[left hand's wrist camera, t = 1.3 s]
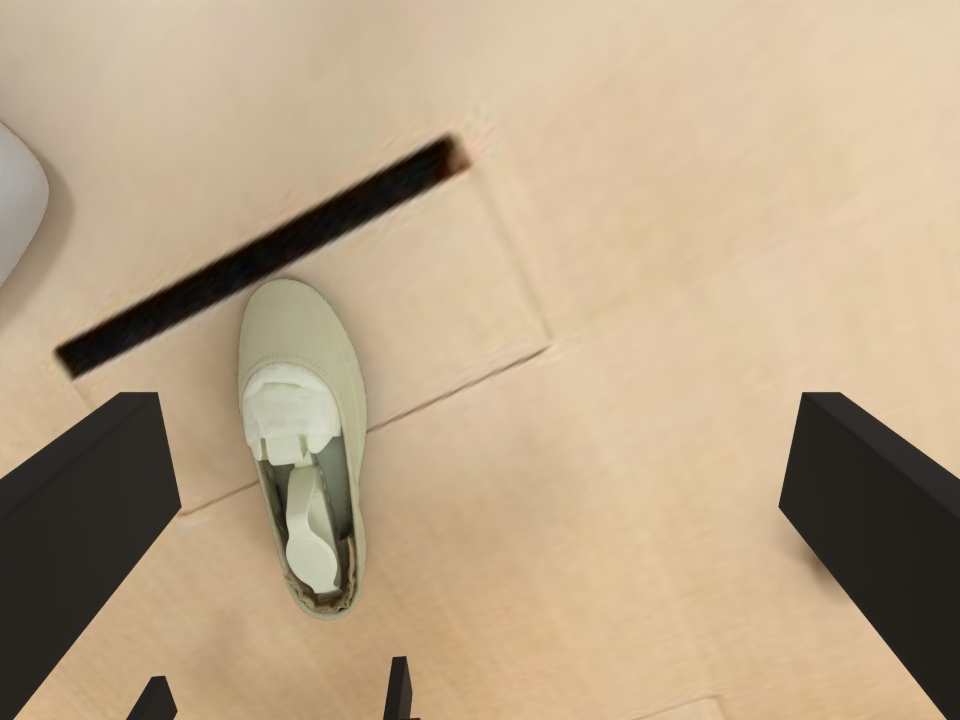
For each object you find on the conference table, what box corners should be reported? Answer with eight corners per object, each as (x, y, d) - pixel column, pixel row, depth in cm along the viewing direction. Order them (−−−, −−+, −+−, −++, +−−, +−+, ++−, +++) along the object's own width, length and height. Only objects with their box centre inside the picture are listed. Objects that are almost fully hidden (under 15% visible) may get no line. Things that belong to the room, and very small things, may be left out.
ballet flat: (350, 269, 41) (322, 296, 33) (399, 567, 49) (385, 644, 41) (228, 280, 41) (173, 310, 33) (297, 576, 49) (265, 654, 42)
